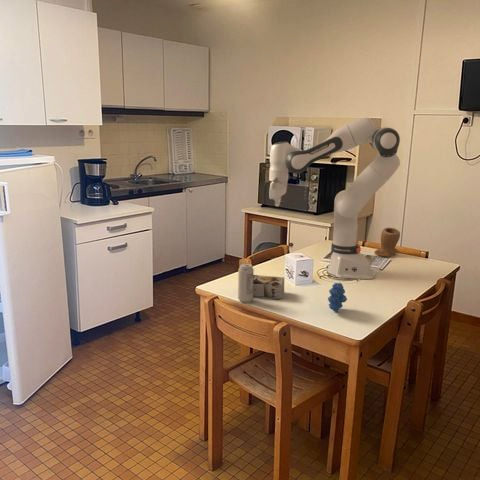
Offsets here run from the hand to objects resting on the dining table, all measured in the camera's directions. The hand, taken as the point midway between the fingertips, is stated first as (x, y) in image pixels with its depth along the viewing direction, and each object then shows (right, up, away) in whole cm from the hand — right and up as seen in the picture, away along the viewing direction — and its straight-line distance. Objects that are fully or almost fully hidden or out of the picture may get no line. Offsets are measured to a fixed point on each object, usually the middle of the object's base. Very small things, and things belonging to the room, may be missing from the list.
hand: (277, 205), depth 230 cm
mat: (-8, -39, -25) cm, 47 cm away
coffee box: (0, -36, -29) cm, 46 cm away
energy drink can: (-16, -41, -34) cm, 56 cm away
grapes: (+20, -44, -44) cm, 66 cm away
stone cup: (+63, -25, +33) cm, 75 cm away
